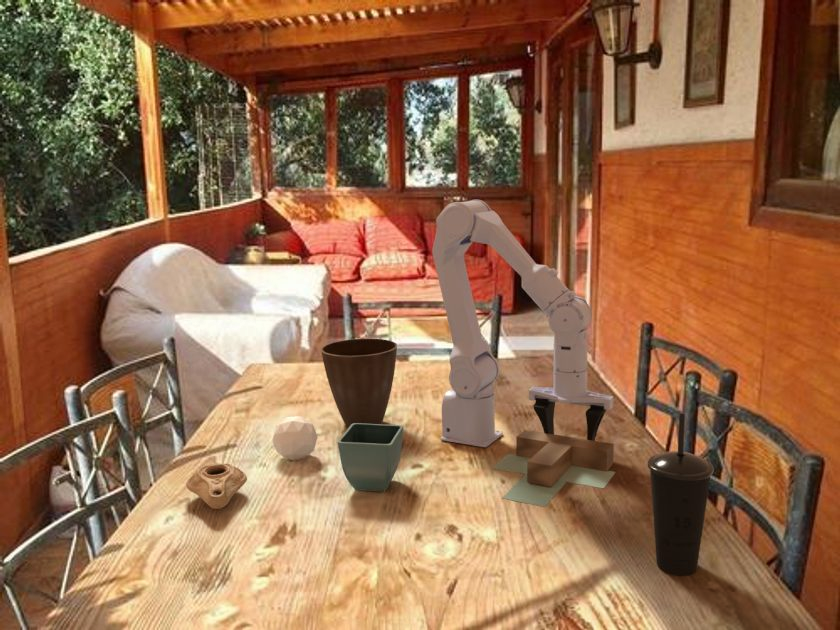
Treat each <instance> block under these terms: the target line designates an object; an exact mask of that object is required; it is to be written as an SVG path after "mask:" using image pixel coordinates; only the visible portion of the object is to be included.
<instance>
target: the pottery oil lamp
mask: <svg viewBox="0 0 840 630" xmlns="http://www.w3.org/2000/svg"><path fill="white" fill-rule="evenodd" d="M247 480H248V475H247V474H246V473H245V472H243V471H242V470H241V469H240V468H239V467H236V466H234V465H232V464H231V463H226V462H225V463H223V462H222V463H220V462H219V463H217V462H213V463H209V464H206V465H204V466H201V467H200V468H199V469H198V470H196V471H195V472H194V473H192V475H191V476H190V478H188V479H187V481H186V483H185V486H186V488H187V490H188V491H190V492H191V493H194V494H195V495H197V496H198V497H200V498H201V500H202V501H203V502H204V503H205V504H207V505H208V506H209V507H210V508H211V509H214V510H221V509H222V508H224V507H225V506H226V505H228V503H229V502H230V501H231V499H232V497H233V496H234V495H235V494H236V493H237V492H238V491H239V490H240V489H241V488H242V487H243V486H244V485H245V484H246V482H247Z"/></svg>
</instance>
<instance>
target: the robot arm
mask: <svg viewBox="0 0 840 630" xmlns="http://www.w3.org/2000/svg"><path fill="white" fill-rule="evenodd" d="M435 222H436V232H435V234H434V235H435V236H434V241H433V246H432V249H431V251H432V252H431V253H432V257H433V261H434V267H435V271H436V275H437V280H438V284H439V287H440V292H441V297H442V300H443V305H444V310H445V313H446V318H447V323H448V327H449V331H450V332H449V333H450V336H451V339H452V344H453V347H452V349H451V351H450V356H449V359H448V360H449V364H450V371H449V374H448V375H449V377H448V381H449V384H450V387H451V389H448V390H447V391H446V393H445V394H444V395H443V399H442V402H441V424H442V425H441V429H442V432H441V434H442V436H441V437H440V440H441V441H444V442H452V443H457V444H463V445H469V446H473V447H474V446H475V447H480V448H488V447H489V446H490V445H492V444H493V443H494V442H496V441H497V440H498V438H499V439H500V437H501V436H503V434H504V432H503V431H501V430H496V421H495V418H496V417H495V413H496V412H495V388H494V382H495V381H496V380H497V379H498V376H499V375H500V366H499V363H498V361H497V359H496V357H494V355H493V354H492V351H491V348H490V344H488V343H487V341H485V340H484V339H483V337H482V333H481V328H480V325H479V324H480V323H479V320H478V315H477V310H476V305H475V301H474V298H473V294H472V288H471V284H470V280H469V276H468V275H469V274H468V270H467V267H466V262H465V258H464V257H465V256H464V255H465V254H466V252H467V251H468V250H469V248H470V246H471V245H472V244H473V242H474V243H479V244H486V245H488V246H491V247H492V248H493V250H494V251H496V253H498V255H499V256H500V257H501V258H502V259H503V260H504V261H505V262H506V263H507V264H509V266H510V267H511V268H512V269H513V270H514V271H515V272H517V274H518V275H519V276H520V278H521V288H522V289H523V290H524V292H526V294H527V295H528V296H529V297H530V298H531V299H532V301H533V302H534V303H535V304H536V305H537V306H538V307H539V309H540V310H541V311H542V312H543V313H544V315H546V316H548V320H547V321H548V326H549V328H550V330H551V331H552V332H553V387H539V386H538V387H537V386H532V387H531V388H529V390H528V401H535V402H534V404H533V405H532V406H533V407H532V408H533V410H534V412H535V413H536V415H537V417H538V419H539V422H540V424H541V426H542V427H541V428H542V430H543V433H548V434H554V435H555V427H554V424H555V423H554V418H555V407H556V403H559V404H569V405H576V406H584V407H589V408H588V409H587V410H585V418H586V429H587V431H586V432H587V435H586V440H593V441H596V437H597V433H598V430H599V427H600V424H601V423H602V419H604V418H603V417H604V416H605V414H606V412H607V411H611V410H612V409H613V407H614V396H613V395H607V394H602V393H598V392H593V391H590V390H588V348H589V347H588V345H589V344H588V328H587V326H588V325H589V324H590V321H591V319H592V310H591V309H592V308H591V307H590V305H589V304H588V302H587V300H586V299H585V298H583V297H580V296H577V293H576V292H575V291H574V290H570V289H569V288H568V287H567V286H566V285H565V283H564V282H562V280H561V279H560V278H559V277H558V276H557V275H558V274H559V271H558V270H557V269H555V267H552V268H550V267H549V266H548V265H546V264H539V263H536V261H535V260H534V259H533V258H532V257H531V256H530V254H529V252H527V251H526V249H525V248H524V247H523V246H522V245H521V243H520V242H519V240H517V239H516V237H515V236H514V234H513V233H512V232H511V231H510V230H509V228H507V226H506V225H505V224H504V222H503V220H502V218H501V217H500V216H499V214H498V213H497V212H496V211H494V210H492V209H491V207H490V206H489V205H488V203H486V202H485V201H483V200H481V199H471V200H468V201H461V202H460V201H457V202H456V201H455V202H452V203H451V202H450V203H448V204H447V205H446V206H445V207H444V208H443V209H442V210H441V212H440V213H439V215H438V216H437V218H436V219H435Z"/></svg>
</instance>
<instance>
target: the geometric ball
mask: <svg viewBox="0 0 840 630" xmlns="http://www.w3.org/2000/svg"><path fill="white" fill-rule="evenodd" d="M318 438H319V437H318V434H317V431H316V429H315V426H314V423H311V422H310V421H309V420H308V419H306V418H304V417H303V416H287V417H285V418H284V419H283V420H281V421H280V422H279V423H278V424H276V425H275V428H274V432H273V435H272V443H273V446H274V449H275V451H276V452H277V453H278V454H279V455H280V456H282V458H285V459H287V460H288V459H290V460H289V461H300V460H303V458H304V459H305V458H307V457H308V456H309V455H311V454H312V452H315V447H316V443H317V441H318ZM299 459H300V460H299Z"/></svg>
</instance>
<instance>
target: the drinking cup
mask: <svg viewBox="0 0 840 630" xmlns="http://www.w3.org/2000/svg"><path fill="white" fill-rule="evenodd" d="M685 423H686V414H684V413H679V414H678V437H677V438H678V439H677V450H676V451H667V452H660V453H657V454H654V455H652V456H651V457H649V458H648V460H647V468H648V469H649V471H650V473H649V474H650V475H649V476H650V485H651V488H650V489H651V499H652V500H651V501H652V514H653V515H652V517H653V518H652V519H653V529H654V530H653V531H654V544H655V555H656V556H655V559H656V565H657V567H658V569H660V571H663V572H664V573H667V574H668V575H673V576H681V577H682V576H689V575H692V574H695V572H696V571H697V569H698V564H699V563H698V562H699V556H700V551H701V543H702V536H703V531H704V530H703V529H704V522H705V517H706V516H705V515H706V510H707V501H708V496H709V489H710V481H711V476H712V475H713V474H714V468H715V467H714V466H713V464H712V463H711V461H709V460H707V459H706V458H703V457H701V456H698V455H696V454H694V453H691V452H687V451H684V450H685V430H686V429H685V427H686V424H685Z"/></svg>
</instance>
